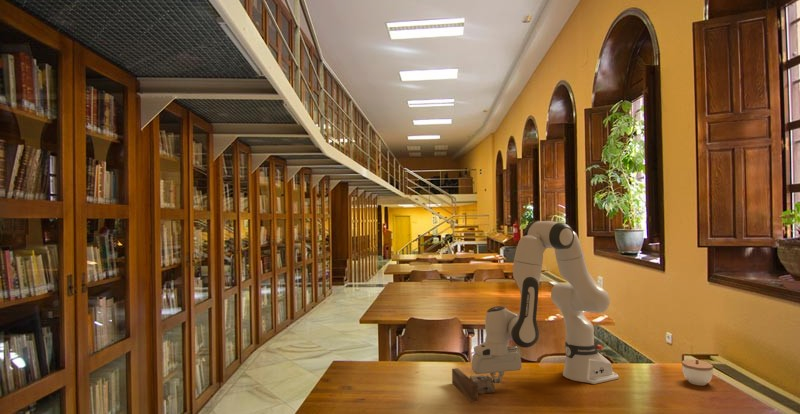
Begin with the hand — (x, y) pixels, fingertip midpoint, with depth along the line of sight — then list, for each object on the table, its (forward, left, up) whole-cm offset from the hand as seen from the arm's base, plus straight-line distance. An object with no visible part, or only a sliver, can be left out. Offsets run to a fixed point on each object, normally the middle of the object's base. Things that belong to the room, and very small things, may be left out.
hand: (496, 382), depth 185 cm
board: (+14, 0, -2) cm, 14 cm away
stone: (+6, -1, -3) cm, 7 cm away
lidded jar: (-81, +16, -3) cm, 83 cm away
